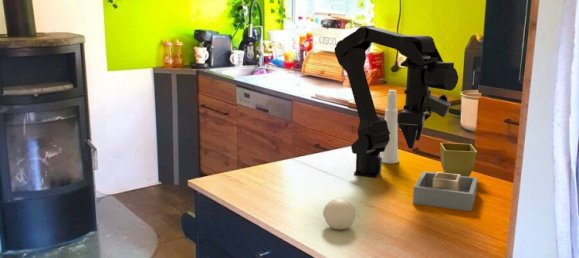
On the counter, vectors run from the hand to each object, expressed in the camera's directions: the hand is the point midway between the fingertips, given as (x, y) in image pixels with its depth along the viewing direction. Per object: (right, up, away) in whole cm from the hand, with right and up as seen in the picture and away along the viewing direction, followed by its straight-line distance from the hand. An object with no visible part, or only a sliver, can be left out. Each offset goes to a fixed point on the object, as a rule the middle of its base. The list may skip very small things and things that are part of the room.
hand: (414, 144), depth 159 cm
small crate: (+7, -13, -5) cm, 15 cm away
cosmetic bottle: (-2, -6, +28) cm, 28 cm away
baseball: (-22, -18, -25) cm, 38 cm away
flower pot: (+14, -10, +12) cm, 21 cm away
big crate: (+7, -14, -5) cm, 16 cm away
